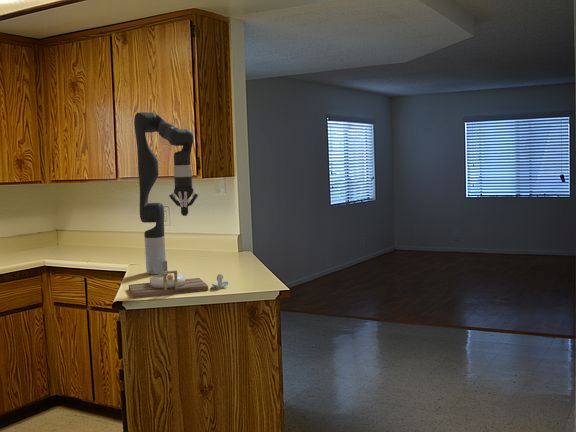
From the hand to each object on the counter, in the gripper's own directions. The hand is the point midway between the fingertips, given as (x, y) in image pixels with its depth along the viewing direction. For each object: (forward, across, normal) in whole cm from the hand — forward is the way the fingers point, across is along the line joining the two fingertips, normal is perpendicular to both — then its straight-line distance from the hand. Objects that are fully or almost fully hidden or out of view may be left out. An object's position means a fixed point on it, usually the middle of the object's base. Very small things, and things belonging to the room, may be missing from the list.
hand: (184, 215), depth 284 cm
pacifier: (+29, +17, -14) cm, 37 cm away
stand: (+29, -4, -17) cm, 34 cm away
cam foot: (+27, -6, -14) cm, 31 cm away
